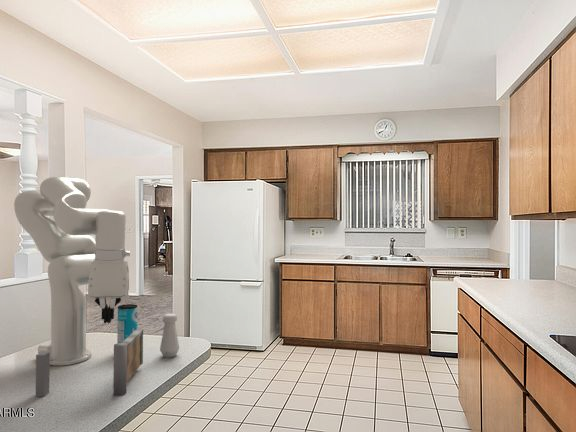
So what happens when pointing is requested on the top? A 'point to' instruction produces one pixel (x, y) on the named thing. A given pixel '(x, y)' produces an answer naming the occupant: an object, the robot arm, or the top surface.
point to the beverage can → (126, 321)
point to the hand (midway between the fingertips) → (107, 321)
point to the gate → (134, 352)
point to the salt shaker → (169, 337)
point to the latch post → (42, 374)
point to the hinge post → (120, 369)
